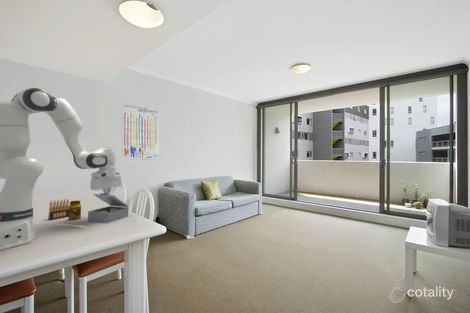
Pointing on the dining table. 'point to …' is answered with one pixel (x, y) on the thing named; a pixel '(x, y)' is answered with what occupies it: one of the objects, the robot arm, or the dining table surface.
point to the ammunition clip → (58, 210)
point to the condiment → (74, 210)
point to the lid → (111, 200)
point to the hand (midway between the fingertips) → (107, 195)
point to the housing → (107, 214)
